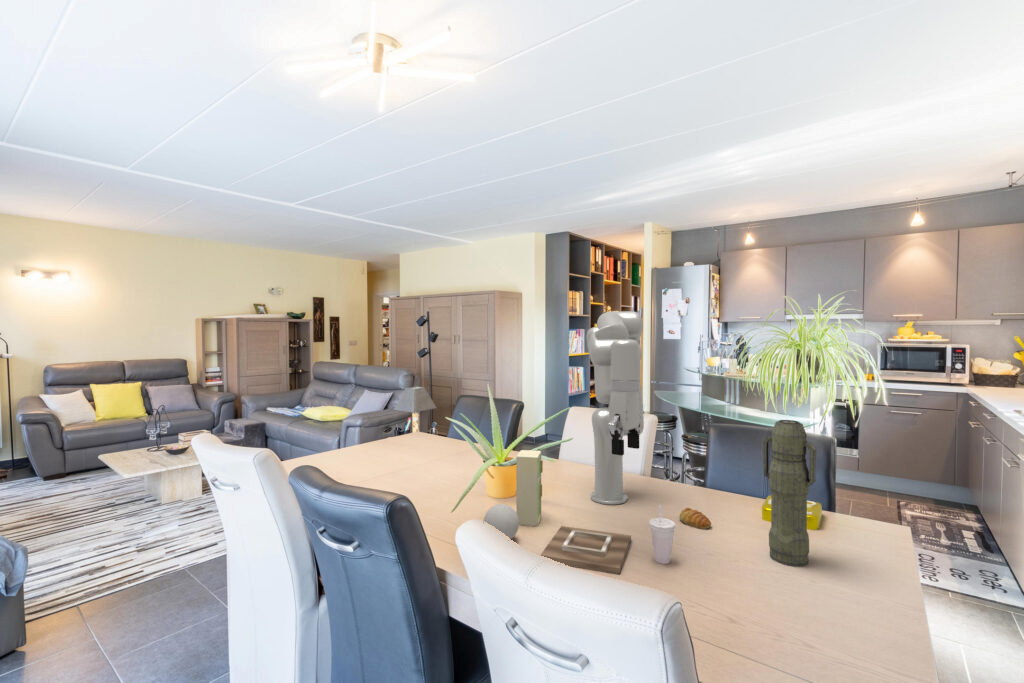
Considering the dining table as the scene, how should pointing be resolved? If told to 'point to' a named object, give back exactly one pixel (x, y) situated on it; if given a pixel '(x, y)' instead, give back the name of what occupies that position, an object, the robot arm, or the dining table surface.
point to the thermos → (789, 492)
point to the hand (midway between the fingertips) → (625, 451)
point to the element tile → (812, 513)
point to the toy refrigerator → (529, 487)
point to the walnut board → (588, 549)
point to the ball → (503, 519)
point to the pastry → (694, 518)
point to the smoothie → (662, 538)
